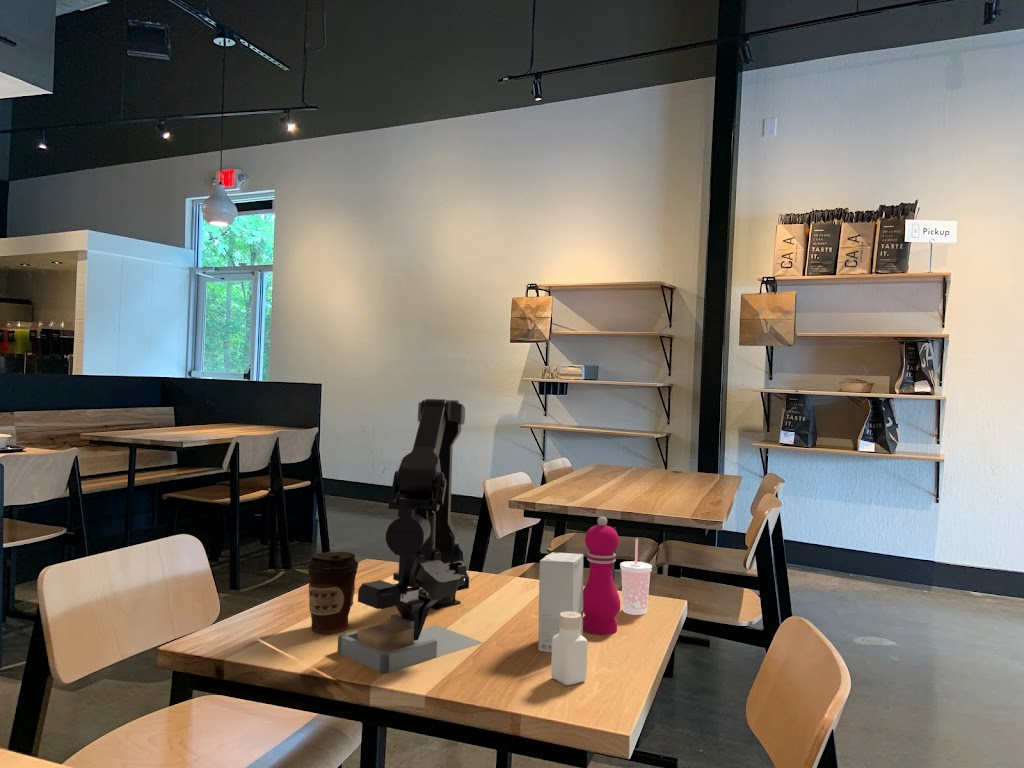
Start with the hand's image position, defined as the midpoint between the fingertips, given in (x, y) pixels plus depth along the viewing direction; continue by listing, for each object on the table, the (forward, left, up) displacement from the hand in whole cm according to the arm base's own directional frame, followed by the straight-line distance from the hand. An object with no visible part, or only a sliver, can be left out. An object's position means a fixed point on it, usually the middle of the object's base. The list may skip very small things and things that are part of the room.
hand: (414, 639), depth 117 cm
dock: (0, 0, -1) cm, 1 cm away
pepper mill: (-31, +14, -2) cm, 34 cm away
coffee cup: (+5, -16, -2) cm, 17 cm away
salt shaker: (-9, +25, -2) cm, 26 cm away
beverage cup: (-45, +12, -2) cm, 46 cm away
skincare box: (-19, +15, -2) cm, 24 cm away
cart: (+6, 0, -1) cm, 6 cm away
